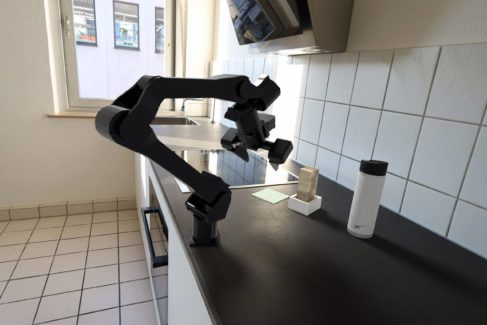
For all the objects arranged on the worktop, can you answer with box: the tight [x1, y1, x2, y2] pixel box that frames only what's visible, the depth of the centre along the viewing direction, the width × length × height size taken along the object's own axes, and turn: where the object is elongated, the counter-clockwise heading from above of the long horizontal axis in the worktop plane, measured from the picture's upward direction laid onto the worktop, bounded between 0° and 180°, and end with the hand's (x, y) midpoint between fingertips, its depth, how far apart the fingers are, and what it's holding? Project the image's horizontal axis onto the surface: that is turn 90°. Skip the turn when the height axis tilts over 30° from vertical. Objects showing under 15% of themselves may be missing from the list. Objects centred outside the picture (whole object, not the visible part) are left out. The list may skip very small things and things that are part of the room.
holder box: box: [287, 193, 323, 216], centre depth 87 cm, size 8×7×4 cm
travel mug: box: [346, 159, 389, 239], centre depth 72 cm, size 6×7×20 cm
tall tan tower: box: [296, 165, 320, 203], centre depth 86 cm, size 5×4×12 cm
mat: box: [250, 187, 291, 205], centre depth 94 cm, size 9×9×1 cm
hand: (262, 165), depth 79 cm, fingers open, 9 cm apart
